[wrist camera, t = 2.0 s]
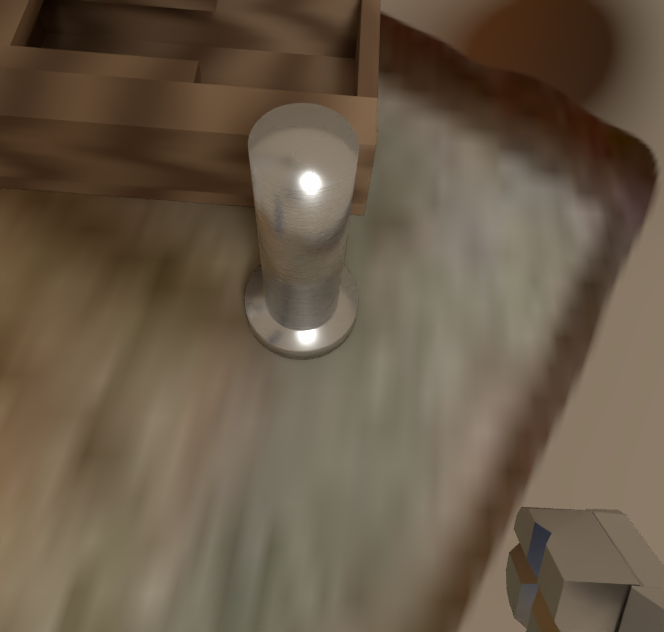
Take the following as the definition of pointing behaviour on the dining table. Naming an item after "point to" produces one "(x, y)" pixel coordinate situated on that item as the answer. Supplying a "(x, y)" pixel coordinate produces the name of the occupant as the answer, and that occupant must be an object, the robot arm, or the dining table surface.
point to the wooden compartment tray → (174, 90)
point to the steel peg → (302, 230)
